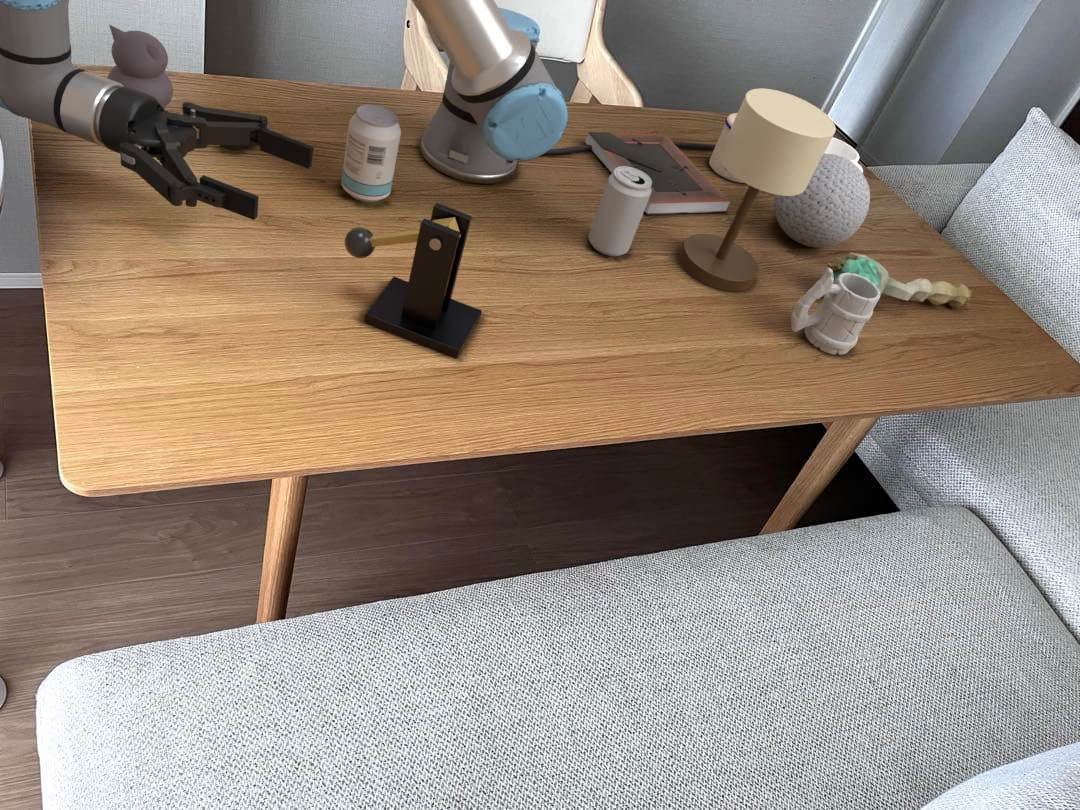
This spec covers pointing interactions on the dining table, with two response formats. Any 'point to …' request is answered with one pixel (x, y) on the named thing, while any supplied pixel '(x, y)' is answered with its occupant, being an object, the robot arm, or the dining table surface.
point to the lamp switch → (384, 238)
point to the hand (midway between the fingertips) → (285, 182)
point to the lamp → (759, 176)
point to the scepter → (890, 287)
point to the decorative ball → (826, 204)
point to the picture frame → (660, 172)
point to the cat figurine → (141, 64)
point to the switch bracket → (430, 290)
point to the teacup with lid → (715, 157)
